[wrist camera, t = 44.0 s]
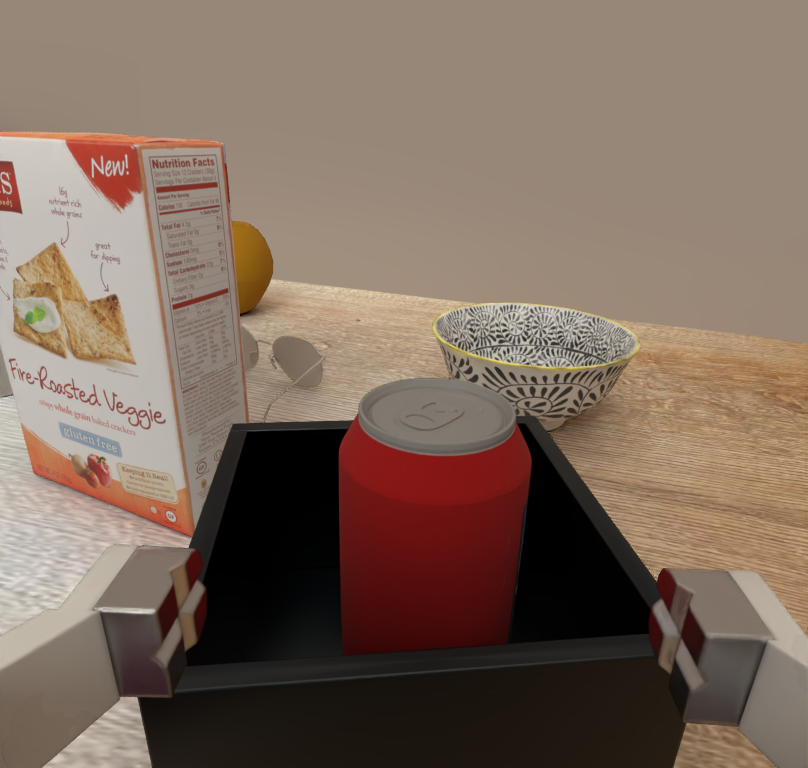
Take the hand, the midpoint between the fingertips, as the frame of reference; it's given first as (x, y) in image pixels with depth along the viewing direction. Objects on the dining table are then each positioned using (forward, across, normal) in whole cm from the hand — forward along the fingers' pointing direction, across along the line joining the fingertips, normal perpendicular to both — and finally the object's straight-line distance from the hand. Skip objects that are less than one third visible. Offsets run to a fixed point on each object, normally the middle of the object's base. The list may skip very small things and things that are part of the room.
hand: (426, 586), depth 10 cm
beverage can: (+10, 0, +13) cm, 17 cm away
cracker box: (+23, +18, +14) cm, 33 cm away
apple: (+64, +24, +14) cm, 70 cm away
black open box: (+10, +1, +14) cm, 17 cm away
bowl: (+36, -8, +14) cm, 40 cm away
